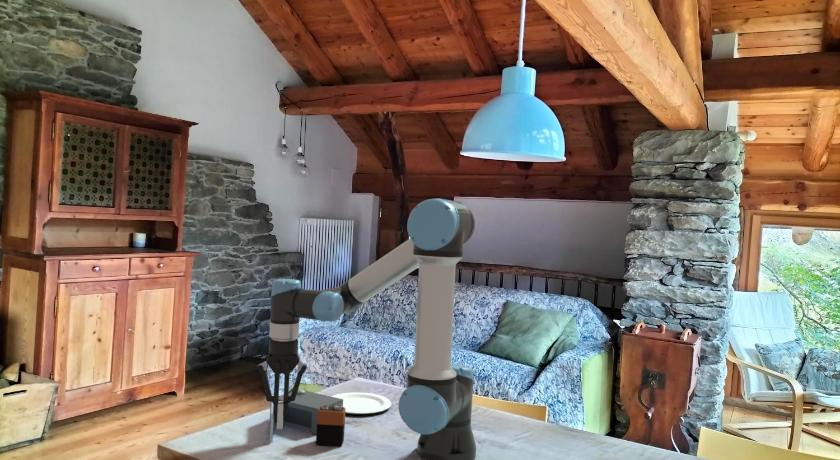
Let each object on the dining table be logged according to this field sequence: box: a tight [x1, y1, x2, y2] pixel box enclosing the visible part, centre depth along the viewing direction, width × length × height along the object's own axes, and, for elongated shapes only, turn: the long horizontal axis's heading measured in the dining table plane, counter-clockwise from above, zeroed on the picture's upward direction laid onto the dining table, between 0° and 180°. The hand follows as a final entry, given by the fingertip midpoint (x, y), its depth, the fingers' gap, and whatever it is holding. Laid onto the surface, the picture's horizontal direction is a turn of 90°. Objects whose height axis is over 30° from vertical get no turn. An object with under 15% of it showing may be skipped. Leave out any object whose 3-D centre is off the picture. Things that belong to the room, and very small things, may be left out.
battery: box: [315, 405, 346, 448], centre depth 155 cm, size 4×7×10 cm, turn 90°
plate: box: [331, 392, 392, 415], centre depth 187 cm, size 21×21×2 cm
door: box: [266, 402, 275, 442], centre depth 160 cm, size 15×2×6 cm, turn 13°
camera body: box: [273, 388, 343, 435], centre depth 169 cm, size 18×11×8 cm, turn 63°
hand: (279, 427), depth 157 cm, fingers closed
